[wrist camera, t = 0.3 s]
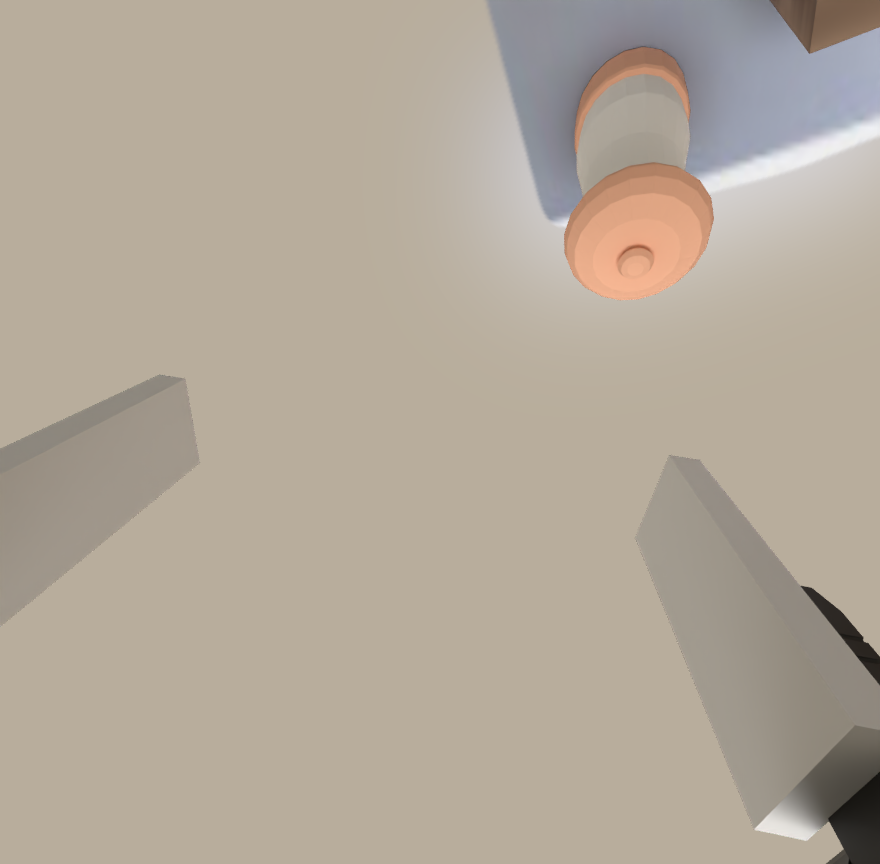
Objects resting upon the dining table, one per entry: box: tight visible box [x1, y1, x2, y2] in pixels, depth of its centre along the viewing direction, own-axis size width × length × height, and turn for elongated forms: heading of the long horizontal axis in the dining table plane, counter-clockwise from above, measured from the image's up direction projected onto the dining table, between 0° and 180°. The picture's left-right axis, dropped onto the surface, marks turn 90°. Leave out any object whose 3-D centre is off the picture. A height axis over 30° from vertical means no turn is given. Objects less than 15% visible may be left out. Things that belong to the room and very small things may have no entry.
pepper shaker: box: [564, 47, 714, 300], centre depth 26 cm, size 7×7×19 cm
